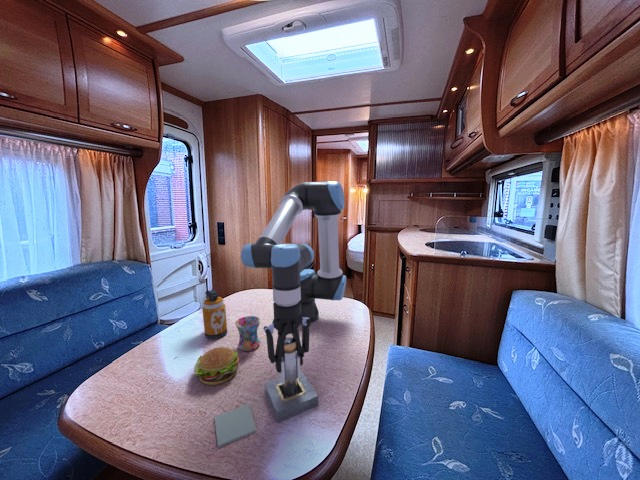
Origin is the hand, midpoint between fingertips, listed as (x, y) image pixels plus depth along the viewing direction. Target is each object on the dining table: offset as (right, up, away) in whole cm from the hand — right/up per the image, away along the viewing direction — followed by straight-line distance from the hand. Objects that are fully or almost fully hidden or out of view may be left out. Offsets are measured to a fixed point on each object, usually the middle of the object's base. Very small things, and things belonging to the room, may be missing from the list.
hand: (289, 378), depth 74 cm
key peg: (0, -5, +1) cm, 5 cm away
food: (-26, -6, +13) cm, 29 cm away
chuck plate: (0, -7, +1) cm, 7 cm away
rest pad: (-13, -8, -7) cm, 17 cm away
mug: (-19, -3, +29) cm, 35 cm away
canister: (-37, -1, +38) cm, 53 cm away
